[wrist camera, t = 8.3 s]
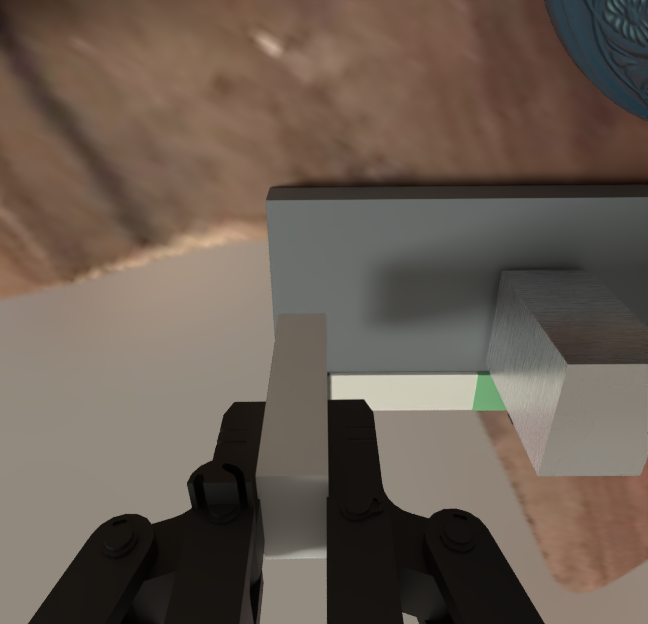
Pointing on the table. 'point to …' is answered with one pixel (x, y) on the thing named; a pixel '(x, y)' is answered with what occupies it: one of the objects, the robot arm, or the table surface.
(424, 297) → the gauge base
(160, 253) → the table surface
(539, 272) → the block
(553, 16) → the canister
